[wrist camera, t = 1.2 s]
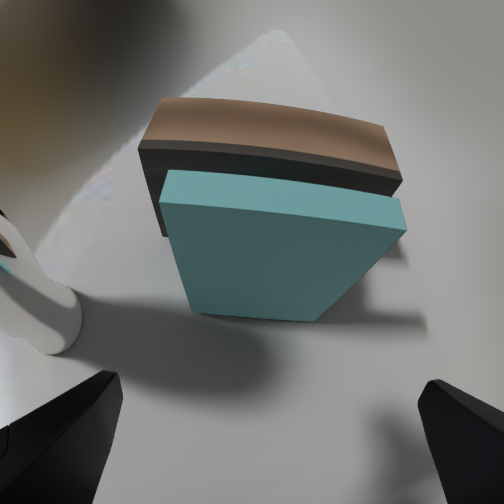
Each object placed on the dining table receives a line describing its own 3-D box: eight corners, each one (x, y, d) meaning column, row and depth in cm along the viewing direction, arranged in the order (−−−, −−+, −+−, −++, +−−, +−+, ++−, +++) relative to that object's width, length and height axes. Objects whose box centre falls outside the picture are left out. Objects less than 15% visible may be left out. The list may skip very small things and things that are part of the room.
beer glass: (96, 286, 22) (-8, 155, 8) (79, 369, 18) (-74, 306, 5) (34, 274, 21) (-67, 166, 8) (16, 348, 18) (-115, 276, 5)
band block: (348, 254, 25) (402, 180, 16) (162, 236, 24) (137, 148, 15) (342, 204, 28) (383, 126, 19) (175, 186, 27) (162, 97, 18)
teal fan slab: (313, 321, 22) (406, 230, 10) (192, 311, 21) (158, 201, 10) (311, 237, 25) (371, 114, 13) (204, 227, 24) (197, 89, 13)
